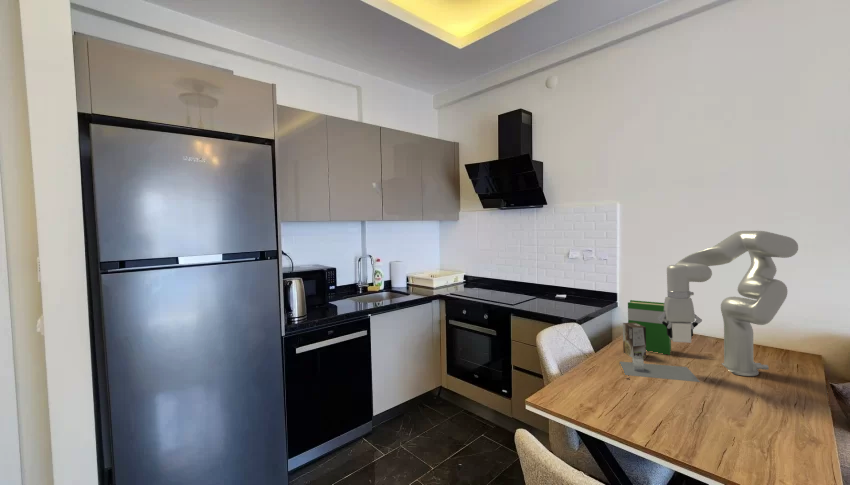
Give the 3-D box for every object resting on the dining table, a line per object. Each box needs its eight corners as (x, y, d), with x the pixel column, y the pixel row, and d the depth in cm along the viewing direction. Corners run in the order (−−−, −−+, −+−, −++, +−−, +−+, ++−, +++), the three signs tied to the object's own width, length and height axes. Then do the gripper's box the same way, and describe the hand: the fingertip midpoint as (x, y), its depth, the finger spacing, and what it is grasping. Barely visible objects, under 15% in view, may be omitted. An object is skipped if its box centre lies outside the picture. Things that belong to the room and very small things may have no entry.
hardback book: (628, 348, 186) (627, 302, 186) (631, 344, 192) (630, 300, 191) (669, 355, 175) (669, 306, 175) (671, 350, 181) (670, 303, 180)
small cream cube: (686, 337, 152) (685, 320, 152) (691, 342, 147) (690, 324, 146) (669, 337, 154) (668, 319, 154) (673, 341, 149) (672, 323, 148)
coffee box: (647, 361, 169) (646, 327, 168) (633, 361, 169) (632, 327, 168) (636, 354, 178) (635, 322, 177) (622, 354, 178) (622, 322, 177)
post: (641, 368, 157) (641, 356, 157) (643, 371, 154) (643, 359, 154) (632, 367, 158) (632, 356, 158) (634, 370, 155) (633, 358, 155)
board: (686, 370, 157) (686, 366, 157) (700, 385, 142) (700, 381, 142) (619, 364, 166) (619, 361, 166) (625, 378, 151) (625, 374, 151)
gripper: (700, 293, 150) (701, 335, 151) (652, 292, 156) (653, 334, 157) (707, 296, 143) (708, 341, 144) (656, 296, 149) (658, 339, 150)
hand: (679, 337), depth 150 cm, fingers closed on small cream cube, 6 cm apart
